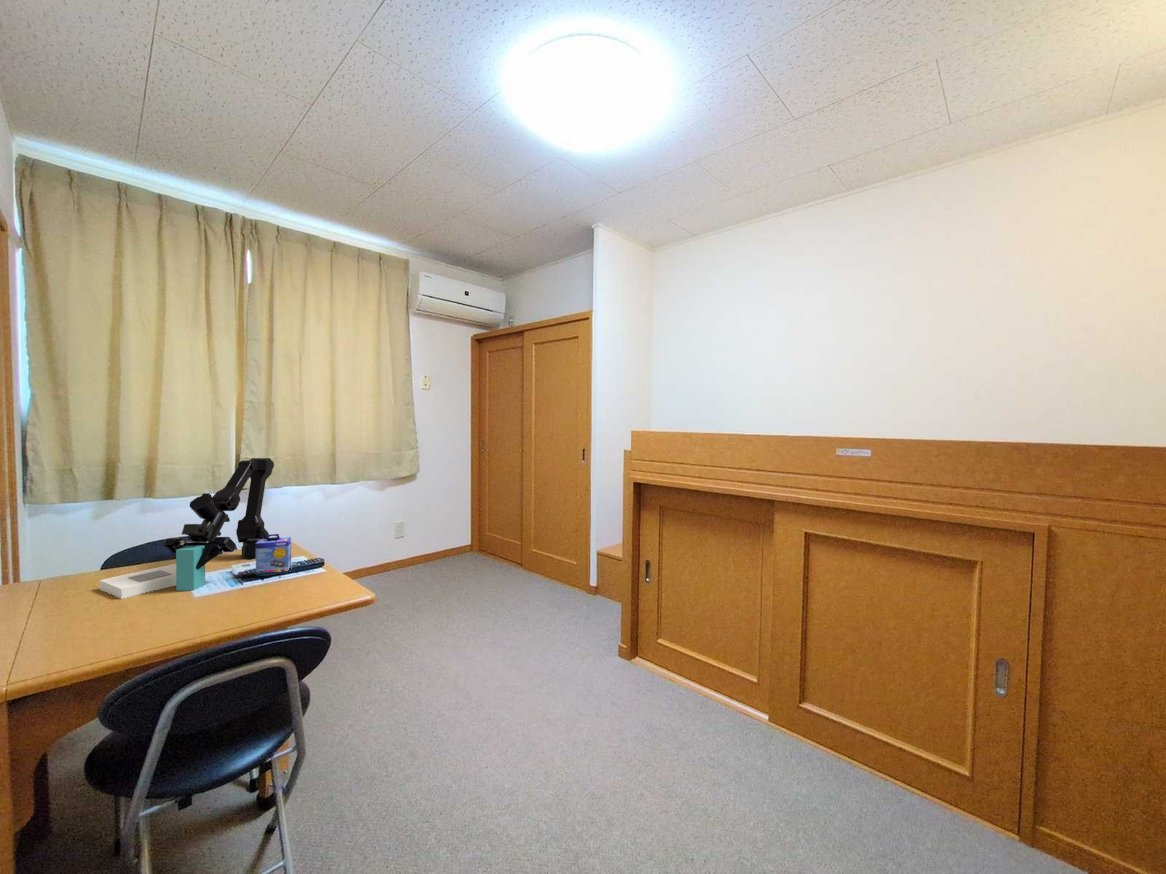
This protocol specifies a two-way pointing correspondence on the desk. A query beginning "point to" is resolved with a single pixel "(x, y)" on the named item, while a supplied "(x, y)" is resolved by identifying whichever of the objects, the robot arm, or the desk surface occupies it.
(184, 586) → the teal block
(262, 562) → the ink cartridge box
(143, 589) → the base plate
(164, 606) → the desk surface
